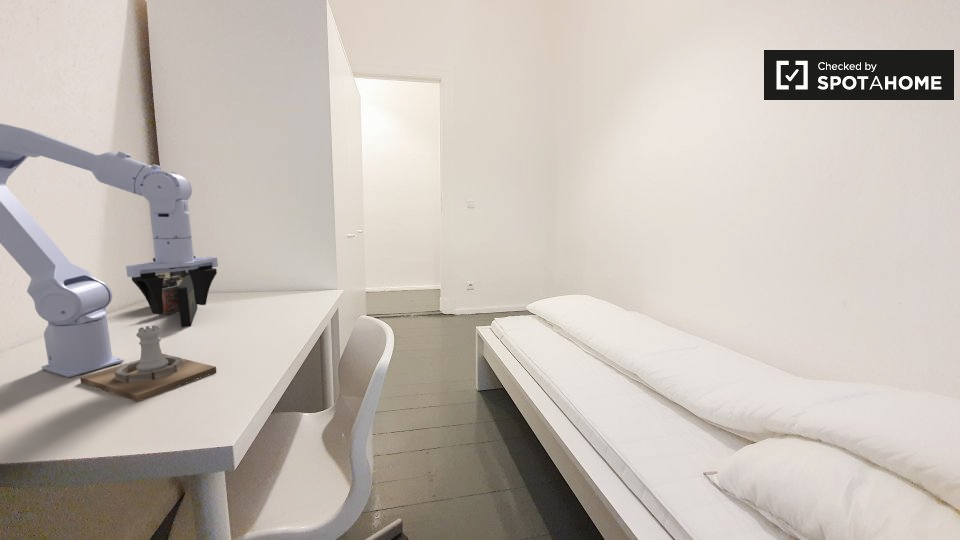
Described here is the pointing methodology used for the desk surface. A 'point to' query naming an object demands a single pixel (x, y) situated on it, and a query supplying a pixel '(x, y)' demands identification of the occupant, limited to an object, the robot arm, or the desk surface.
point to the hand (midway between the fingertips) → (180, 308)
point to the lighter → (170, 296)
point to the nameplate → (186, 301)
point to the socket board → (147, 378)
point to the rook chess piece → (150, 350)
